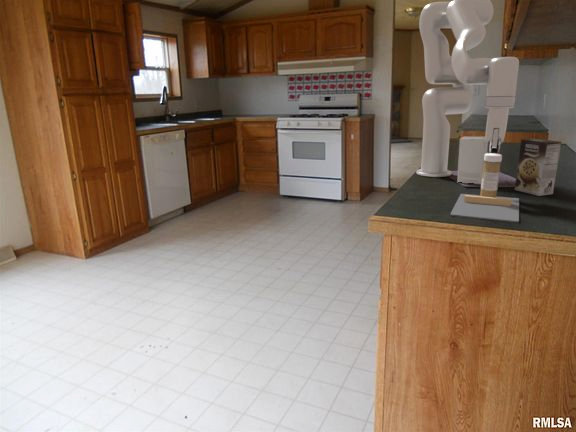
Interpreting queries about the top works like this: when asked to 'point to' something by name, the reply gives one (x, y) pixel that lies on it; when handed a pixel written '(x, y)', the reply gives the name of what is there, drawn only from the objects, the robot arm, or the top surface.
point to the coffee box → (537, 166)
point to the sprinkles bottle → (490, 174)
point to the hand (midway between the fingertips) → (492, 166)
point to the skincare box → (471, 159)
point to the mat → (487, 208)
